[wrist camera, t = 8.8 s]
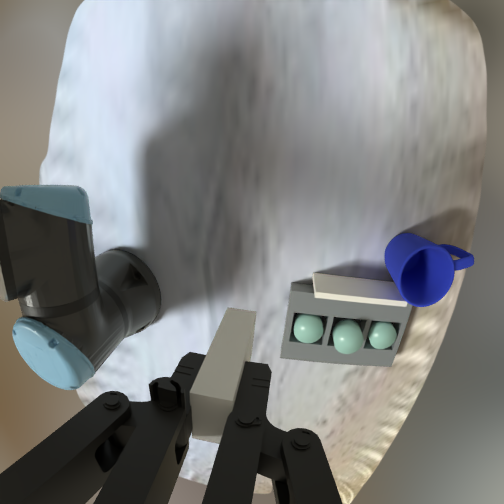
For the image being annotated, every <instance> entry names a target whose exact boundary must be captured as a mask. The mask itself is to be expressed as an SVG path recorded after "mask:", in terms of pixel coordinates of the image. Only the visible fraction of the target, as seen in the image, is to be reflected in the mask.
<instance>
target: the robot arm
mask: <svg viewBox="0 0 504 504" xmlns="http://www.w3.org/2000/svg"><path fill="white" fill-rule="evenodd" d="M0 198H1V200H0V298H1V299H2V300H4V301H5V302H7V301H10V300H14V299H17V298H18V300H19V304H20V307H21V311H22V315H23V316H22V317H21V318H19V319H17V321H16V323H15V324H14V327H13V339H14V342H15V345H16V347H17V349H18V351H19V353H20V354H21V356H22V357H23V359H24V360H25V361H26V363H27V364H28V365H29V366H30V367H31V369H32V370H33V371H35V372H36V373H37V374H38V375H39V376H40V377H41V378H43V379H44V380H45V381H47V382H48V383H50V384H52V385H54V386H56V387H58V388H61V389H65V390H74V389H77V388H79V387H81V386H82V385H83V384H84V383H85V382H86V381H87V380H88V379H89V378H91V377H93V376H94V374H95V372H96V371H97V370H98V369H99V368H100V366H101V365H102V364H103V363H104V361H105V360H106V359H107V358H108V357H109V355H110V354H111V353H112V352H113V351H114V349H115V348H116V347H117V346H118V345H119V344H120V342H121V341H122V340H123V339H124V338H126V337H129V336H131V335H133V334H135V333H138V332H141V331H143V330H144V329H146V328H147V327H148V326H149V325H150V324H151V323H152V322H153V320H154V319H155V318H156V316H157V315H158V312H159V309H160V304H161V296H160V290H159V286H158V283H157V281H156V279H155V277H154V275H153V273H152V272H151V270H150V269H149V268H148V267H147V265H146V264H145V263H144V262H142V261H141V260H140V259H139V258H137V257H136V256H134V255H133V254H131V253H128V252H126V251H122V250H109V251H106V252H104V253H102V254H100V255H98V256H97V257H95V254H94V245H93V234H92V224H93V221H92V220H91V216H90V209H89V199H88V195H87V193H86V191H85V190H84V189H83V188H81V187H79V186H74V185H22V186H4V187H3V188H2V189H1V192H0ZM255 320H256V312H255V311H248V310H241V309H234V308H227V310H226V312H225V315H224V317H223V319H222V321H221V323H220V326H219V328H218V330H217V332H216V335H215V337H214V339H213V341H212V343H211V346H210V348H209V350H208V352H207V355H203V354H198V353H193V352H189V353H188V354H186V355H185V356H183V357H182V358H181V360H180V362H179V364H178V366H177V367H176V369H175V372H174V373H173V375H172V376H171V377H162V378H157V379H155V380H153V381H152V382H151V383H150V384H149V389H150V396H151V401H148V402H132V401H129V399H128V397H127V396H126V395H125V394H123V393H121V392H118V391H109V392H105V393H103V394H101V395H100V396H98V397H97V398H96V399H95V400H93V401H92V402H91V403H90V404H88V405H87V406H86V407H85V408H84V409H82V410H81V411H80V412H78V413H77V414H76V415H75V416H74V417H72V418H71V419H70V420H68V421H67V422H66V423H65V424H63V425H62V426H61V427H60V428H58V429H57V430H56V431H55V432H53V433H52V434H51V435H50V436H48V437H47V438H46V439H45V440H43V441H42V442H41V443H40V444H38V445H37V446H36V447H34V448H33V449H32V450H31V451H29V452H28V453H27V454H25V455H24V456H23V457H22V458H20V459H19V460H18V461H16V462H15V463H14V464H13V465H11V466H10V467H9V468H7V469H6V470H5V471H3V472H2V473H1V474H0V504H85V503H86V502H87V501H88V500H89V499H90V498H91V497H92V496H93V495H94V494H95V493H96V492H97V491H98V490H99V489H100V488H101V487H102V486H103V487H102V489H101V491H100V492H99V495H98V496H97V498H96V500H95V502H94V503H93V504H168V502H169V499H170V496H171V494H172V491H173V489H174V486H175V483H176V480H177V478H178V475H179V473H180V470H181V467H182V465H183V462H184V459H185V457H186V454H187V451H188V449H189V437H190V435H191V432H192V438H195V439H199V440H204V441H208V442H213V443H218V444H219V448H218V451H217V455H216V458H215V461H214V465H213V468H212V472H211V475H210V478H209V482H208V485H207V488H206V492H205V495H204V499H203V502H202V504H251V503H252V498H253V492H254V486H255V481H256V475H257V473H258V474H261V475H263V476H265V477H268V478H270V479H272V484H273V489H274V494H275V500H276V504H342V501H341V498H340V495H339V492H338V489H337V486H336V483H335V481H334V478H333V475H332V472H331V469H330V466H329V463H328V460H327V458H326V455H325V452H324V449H323V446H322V443H321V440H320V439H319V437H318V435H317V434H315V433H314V432H313V431H311V430H308V429H304V428H296V429H292V430H290V431H288V432H286V431H283V430H281V429H278V428H276V427H274V426H273V425H272V424H271V423H270V422H269V421H268V419H267V417H266V409H267V402H268V395H269V388H270V380H271V373H272V372H271V370H270V368H269V366H268V364H262V363H255V362H250V359H251V355H252V347H253V338H254V329H255Z"/></svg>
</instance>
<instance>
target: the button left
mask: <svg viewBox="0 0 504 504" xmlns="http://www.w3.org/2000/svg"><path fill="white" fill-rule="evenodd" d="M322 334H323V324H322V317H321V315H312V314H304V313H298V314H297V315H296V316H295V319H294V335H295V337H296V338H297V339H298V340H299V341H301V342H303V343H313V342H315V341H317V340H319V339H320V338H321V336H322Z"/></svg>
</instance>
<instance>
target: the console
mask: <svg viewBox="0 0 504 504" xmlns="http://www.w3.org/2000/svg"><path fill="white" fill-rule="evenodd" d="M412 306H413V305H411V304H409V303H407V306H406V307H402V306H391V305H380V304H370V303H360V302H350V301H341V300H332V299H323V298H315V295H314V287H313V285H308V284H299V283H291V289H290V296H289V302H288V309H287V315H286V322H285V328H284V334H283V340H282V346H281V356H280V358H284V359H293V360H302V361H312V362H322V363H334V364H348V365H364V366H386V367H391V366H392V363H393V361H394V358H395V355H396V353H397V350H398V347H399V345H400V342H401V339H402V336H403V333H404V330H405V327H406V324H407V321H408V318H409V315H410V312H411V309H412ZM294 312H295V313H304V314H312V315H322V316H325V319H324V323H323V334H322V336H321V338H320V339H319V340H317V341H315V342H313V343H303V342H301V341H299V340H298V339H297V338H296V337H295V335H294V332H291V327H292V321H293V316H294ZM334 317H341V318H351V319H361V321H360V325H359V326H360V329H361V332H362V335H363V338H364V342H363V345H362V346H361V348H360V349H359V350H358V351H356V352H354V353H351V354H343V353H340V352H338V351H337V350H336V348H335V346H334V340H333V336H330V332H331V327H332V323H333V319H334ZM372 320H373V321H386V322H394V324H393V327H394V328H395V330H396V334H397V336H396V339H395V341H394V343H393V344H392V345H391V346H389V347H387V348H385V349H376V348H374V347H373V346H372V345H371V343H370V340H369V339H366V338H367V335H368V332H369V328H370V325H371V321H372Z"/></svg>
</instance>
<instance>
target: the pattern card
mask: <svg viewBox="0 0 504 504" xmlns="http://www.w3.org/2000/svg"><path fill="white" fill-rule="evenodd" d="M312 279H313V287H314V295H315V298H323V299H332V300H341V301H350V302H360V303H370V304H380V305H391V306H402V307H406V306H407V302H406V301H405V300H404V299H403V298H402V296H401V294H400V292H399V290H398V288H397V286H396V284H395V283H394V282H389V281H380V280H371V279H363V278H354V277H346V276H337V275H329V274H321V273H313V276H312Z"/></svg>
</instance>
